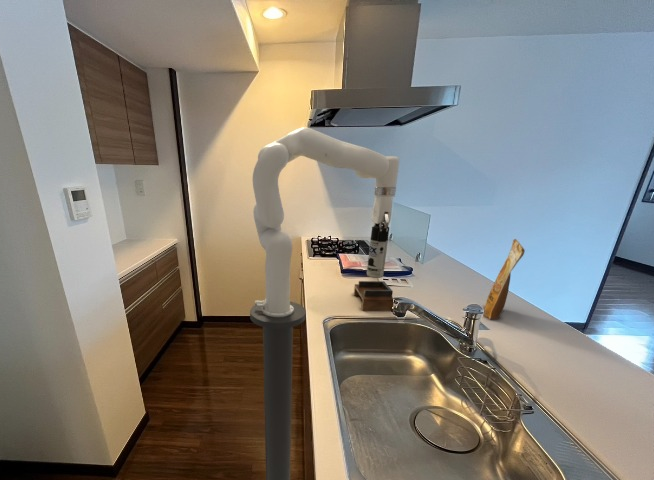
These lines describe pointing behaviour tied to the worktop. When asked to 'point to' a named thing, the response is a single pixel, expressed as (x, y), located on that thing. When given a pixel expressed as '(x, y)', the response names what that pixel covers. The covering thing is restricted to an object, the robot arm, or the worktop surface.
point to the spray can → (376, 254)
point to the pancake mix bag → (503, 283)
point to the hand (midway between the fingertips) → (379, 239)
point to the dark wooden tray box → (374, 295)
